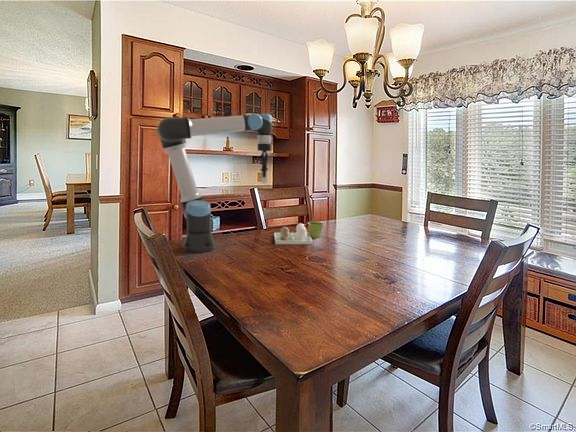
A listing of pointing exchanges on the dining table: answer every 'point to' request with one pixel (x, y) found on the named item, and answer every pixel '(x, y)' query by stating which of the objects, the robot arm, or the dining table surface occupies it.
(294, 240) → the caddy
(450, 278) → the dining table surface
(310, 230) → the plant pot
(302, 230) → the white egg far right
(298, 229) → the white egg far left
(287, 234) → the wooden egg
